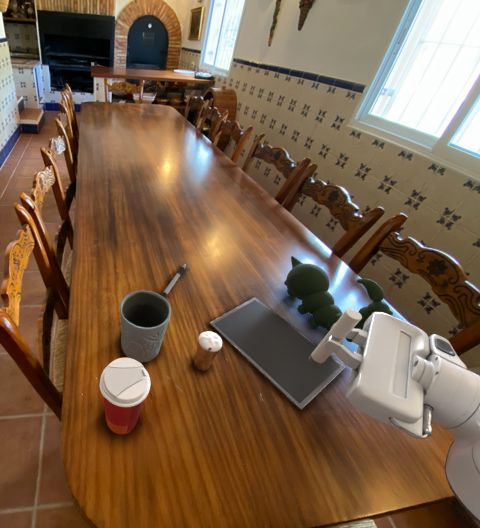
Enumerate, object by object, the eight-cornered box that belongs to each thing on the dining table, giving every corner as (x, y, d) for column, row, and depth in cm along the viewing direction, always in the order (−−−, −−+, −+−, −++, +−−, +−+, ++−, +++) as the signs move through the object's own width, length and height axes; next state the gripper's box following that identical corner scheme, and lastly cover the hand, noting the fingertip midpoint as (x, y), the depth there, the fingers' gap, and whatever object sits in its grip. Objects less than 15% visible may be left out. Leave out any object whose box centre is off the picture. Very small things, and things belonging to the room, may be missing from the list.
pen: (159, 298, 77) (160, 294, 76) (183, 264, 88) (184, 261, 87) (164, 300, 76) (164, 296, 76) (187, 266, 88) (188, 263, 87)
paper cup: (134, 392, 57) (141, 349, 48) (148, 433, 52) (159, 394, 43) (94, 403, 55) (94, 361, 46) (105, 447, 49) (106, 409, 40)
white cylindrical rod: (323, 363, 53) (364, 315, 45) (317, 369, 52) (358, 321, 44) (312, 354, 55) (350, 306, 46) (305, 359, 54) (343, 312, 45)
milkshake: (187, 372, 61) (198, 343, 55) (192, 351, 65) (202, 322, 58) (209, 380, 60) (223, 352, 54) (213, 359, 64) (226, 330, 57)
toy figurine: (356, 351, 70) (291, 275, 87) (418, 302, 56) (327, 223, 73) (324, 359, 68) (264, 279, 84) (380, 309, 54) (296, 226, 71)
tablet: (344, 368, 64) (346, 366, 63) (299, 411, 56) (301, 409, 56) (253, 298, 79) (254, 296, 78) (208, 324, 71) (209, 322, 71)
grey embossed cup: (128, 371, 60) (132, 335, 53) (110, 333, 67) (112, 296, 60) (171, 355, 64) (181, 319, 56) (150, 321, 71) (156, 284, 63)
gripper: (414, 456, 39) (303, 388, 45) (419, 354, 51) (332, 313, 58) (451, 437, 35) (324, 365, 41) (446, 332, 47) (350, 289, 54)
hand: (329, 334), depth 49 cm, fingers closed on white cylindrical rod, 2 cm apart
